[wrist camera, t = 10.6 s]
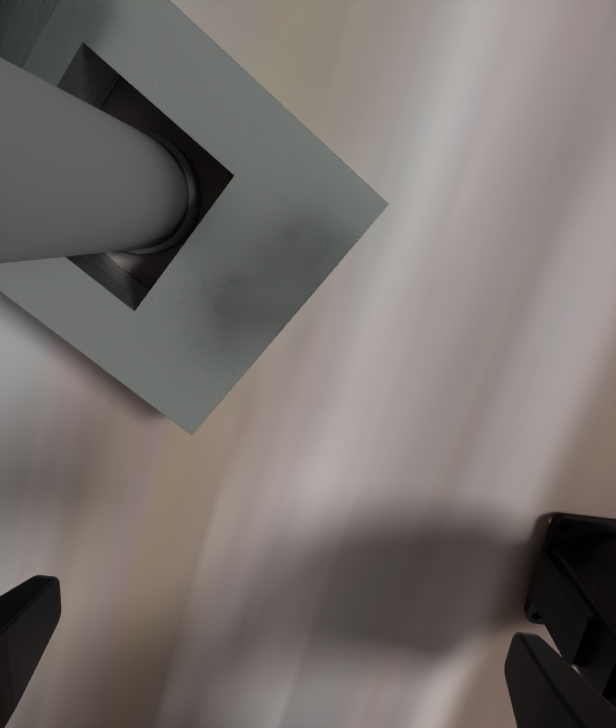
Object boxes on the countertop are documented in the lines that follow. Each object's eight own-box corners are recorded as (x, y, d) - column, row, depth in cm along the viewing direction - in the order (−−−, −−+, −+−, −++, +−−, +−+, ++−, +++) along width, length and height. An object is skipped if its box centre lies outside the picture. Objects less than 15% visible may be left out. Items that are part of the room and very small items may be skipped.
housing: (379, 208, 19) (402, 198, 13) (209, 408, 22) (167, 472, 16) (55, -93, 16) (-93, -267, 11) (-88, 179, 19) (-263, 158, 14)
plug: (176, 115, 18) (-155, -136, 6) (216, 233, 19) (18, 240, 7) (70, 153, 19) (-440, 2, 6) (116, 266, 20) (-234, 325, 8)
